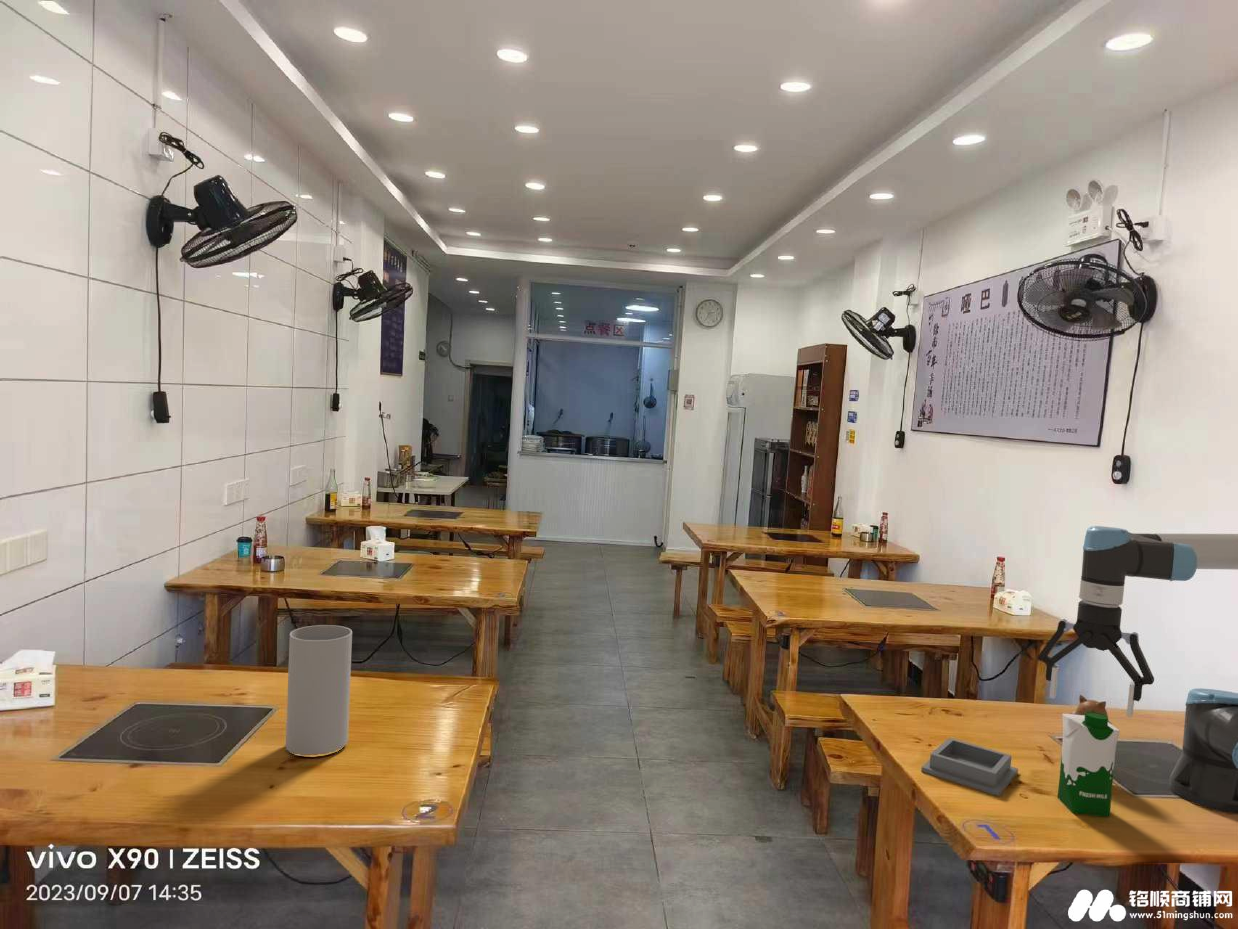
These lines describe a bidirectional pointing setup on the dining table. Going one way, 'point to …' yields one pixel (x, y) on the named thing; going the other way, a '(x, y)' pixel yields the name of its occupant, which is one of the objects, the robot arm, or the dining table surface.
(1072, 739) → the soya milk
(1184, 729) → the robot arm
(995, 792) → the dock
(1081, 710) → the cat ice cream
